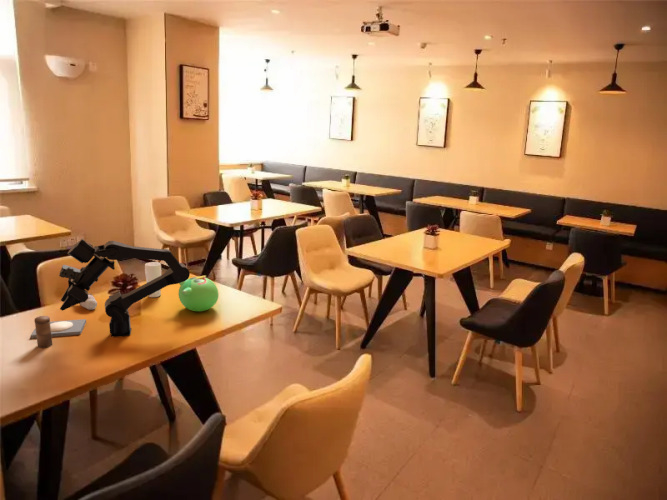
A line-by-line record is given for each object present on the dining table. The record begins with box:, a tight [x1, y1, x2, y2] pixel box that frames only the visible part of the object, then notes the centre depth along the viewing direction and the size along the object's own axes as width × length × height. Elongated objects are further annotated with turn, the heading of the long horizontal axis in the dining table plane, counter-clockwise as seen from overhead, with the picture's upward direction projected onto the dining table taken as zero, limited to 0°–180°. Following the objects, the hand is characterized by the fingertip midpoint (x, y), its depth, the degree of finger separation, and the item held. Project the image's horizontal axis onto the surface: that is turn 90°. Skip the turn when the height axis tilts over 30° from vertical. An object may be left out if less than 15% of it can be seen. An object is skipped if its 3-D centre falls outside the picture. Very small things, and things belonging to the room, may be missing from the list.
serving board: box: [30, 318, 87, 339], centre depth 183 cm, size 16×12×2 cm
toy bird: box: [178, 275, 219, 312], centre depth 206 cm, size 18×17×15 cm
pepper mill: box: [34, 315, 53, 349], centre depth 169 cm, size 4×4×10 cm
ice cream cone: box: [78, 292, 98, 311], centre depth 206 cm, size 6×6×15 cm
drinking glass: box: [144, 261, 162, 298], centre depth 220 cm, size 7×7×15 cm
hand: (61, 305), depth 171 cm, fingers open, 9 cm apart
